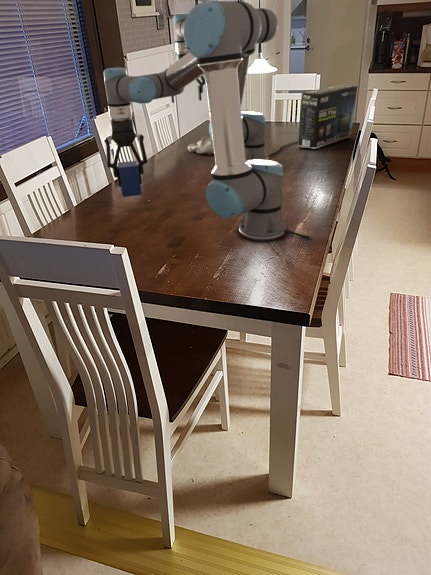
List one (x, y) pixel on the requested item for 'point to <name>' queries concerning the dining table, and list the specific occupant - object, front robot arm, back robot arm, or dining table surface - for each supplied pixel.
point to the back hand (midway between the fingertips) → (186, 101)
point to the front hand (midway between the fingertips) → (130, 184)
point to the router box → (326, 115)
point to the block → (129, 178)
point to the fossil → (202, 146)
